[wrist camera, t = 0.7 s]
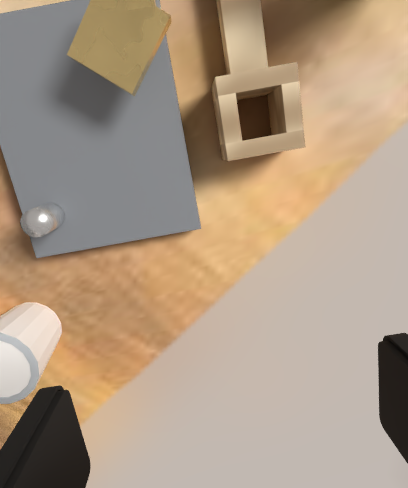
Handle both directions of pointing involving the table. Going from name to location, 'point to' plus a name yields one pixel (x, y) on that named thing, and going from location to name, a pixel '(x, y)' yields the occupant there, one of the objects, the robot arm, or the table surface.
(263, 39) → the link
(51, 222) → the pintle
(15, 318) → the white cylinder
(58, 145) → the board
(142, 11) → the block
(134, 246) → the table surface
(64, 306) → the table surface
